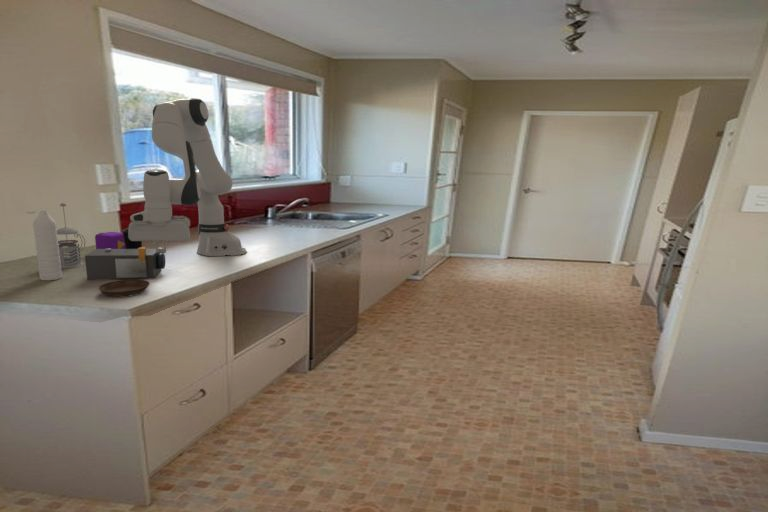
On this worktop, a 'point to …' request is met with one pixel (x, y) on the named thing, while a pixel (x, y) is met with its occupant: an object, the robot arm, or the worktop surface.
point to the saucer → (124, 287)
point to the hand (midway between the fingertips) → (161, 252)
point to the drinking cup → (128, 242)
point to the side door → (132, 266)
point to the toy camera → (110, 240)
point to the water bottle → (46, 246)
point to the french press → (69, 247)
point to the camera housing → (103, 260)
